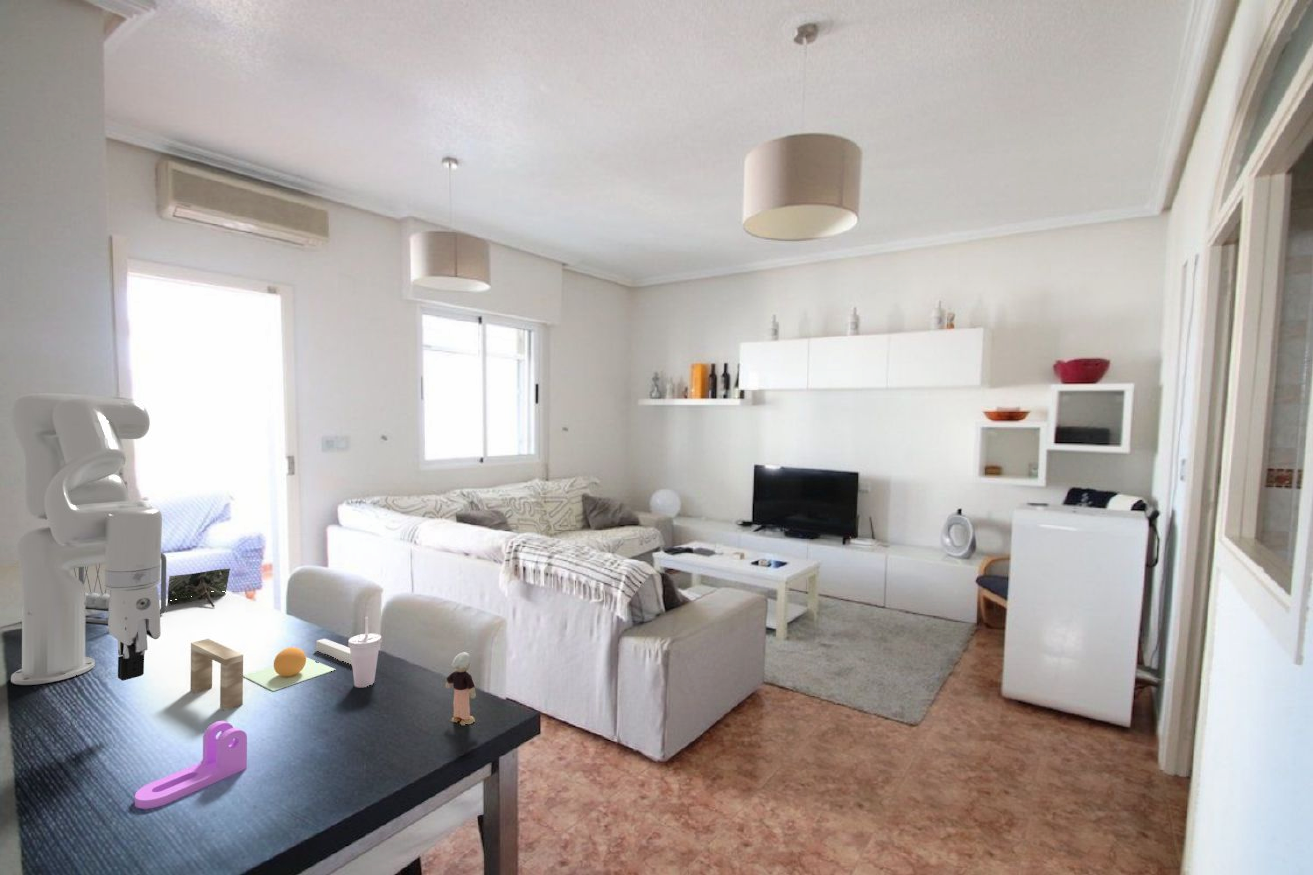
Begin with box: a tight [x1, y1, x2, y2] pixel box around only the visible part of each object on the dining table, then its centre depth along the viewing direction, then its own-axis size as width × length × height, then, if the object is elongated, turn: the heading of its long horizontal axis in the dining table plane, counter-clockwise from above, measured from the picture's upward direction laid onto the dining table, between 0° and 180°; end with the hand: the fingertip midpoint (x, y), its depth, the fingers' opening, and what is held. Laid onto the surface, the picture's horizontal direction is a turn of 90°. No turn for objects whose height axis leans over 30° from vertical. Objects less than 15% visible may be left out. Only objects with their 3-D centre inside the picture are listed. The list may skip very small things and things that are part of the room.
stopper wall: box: [315, 638, 352, 666], centre depth 139 cm, size 16×2×2 cm, turn 58°
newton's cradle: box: [73, 551, 167, 625], centre depth 164 cm, size 30×10×18 cm, turn 79°
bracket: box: [134, 720, 248, 810], centre depth 90 cm, size 13×6×7 cm, turn 150°
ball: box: [273, 646, 307, 677], centre depth 129 cm, size 6×6×6 cm
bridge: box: [189, 638, 244, 711], centre depth 118 cm, size 3×15×10 cm, turn 58°
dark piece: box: [166, 568, 231, 608], centre depth 176 cm, size 15×10×13 cm
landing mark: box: [243, 656, 337, 692], centre depth 130 cm, size 13×13×1 cm
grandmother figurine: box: [444, 651, 477, 726], centre depth 111 cm, size 8×4×13 cm, turn 71°
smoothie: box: [347, 616, 382, 689], centre depth 126 cm, size 6×6×14 cm
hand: (130, 676), depth 107 cm, fingers closed
